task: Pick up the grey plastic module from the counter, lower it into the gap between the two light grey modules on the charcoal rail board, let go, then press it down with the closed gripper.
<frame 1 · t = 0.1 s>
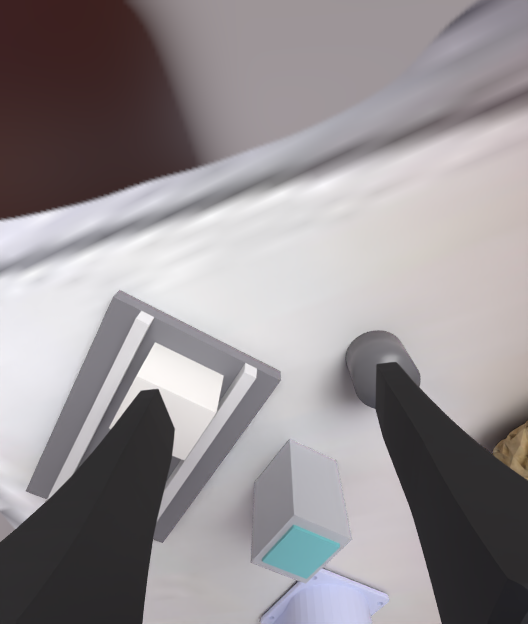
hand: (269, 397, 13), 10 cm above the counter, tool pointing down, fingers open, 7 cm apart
module: (294, 471, 29), on the counter
rail board: (146, 430, 27), on the counter
knob: (374, 355, 24), on the counter
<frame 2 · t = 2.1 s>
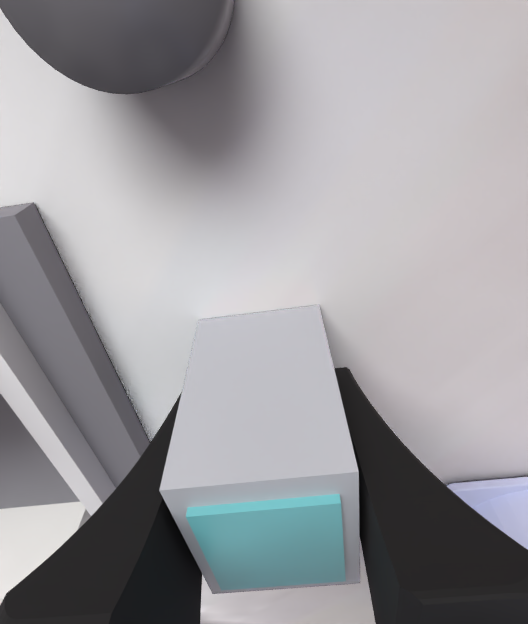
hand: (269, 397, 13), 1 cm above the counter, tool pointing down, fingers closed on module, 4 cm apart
module: (268, 368, 14), on the counter, touching gripper
rail board: (10, 435, 16), on the counter
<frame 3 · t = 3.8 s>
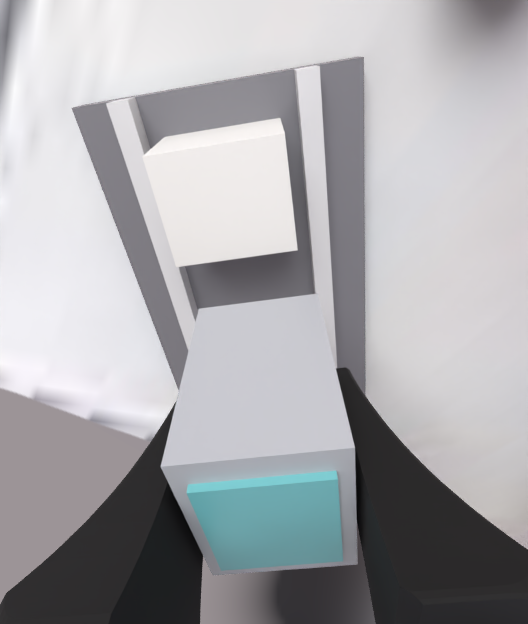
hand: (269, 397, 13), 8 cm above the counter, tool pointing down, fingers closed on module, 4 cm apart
module: (267, 358, 14), point 7 cm above the counter, touching gripper
rail board: (253, 281, 20), on the counter
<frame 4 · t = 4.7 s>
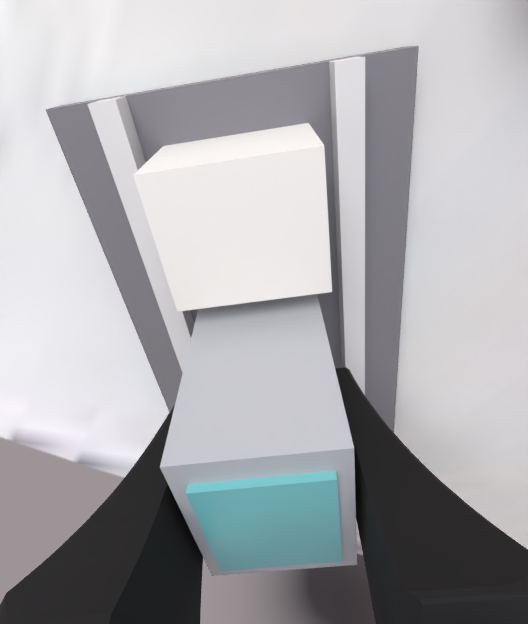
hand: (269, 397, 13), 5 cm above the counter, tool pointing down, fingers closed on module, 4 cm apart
module: (267, 358, 14), point 3 cm above the counter, touching gripper
rail board: (267, 313, 17), on the counter
when the fingers open (3 cm above the counter, at t = 5.5 s): module stays where it is, resting on rail board.
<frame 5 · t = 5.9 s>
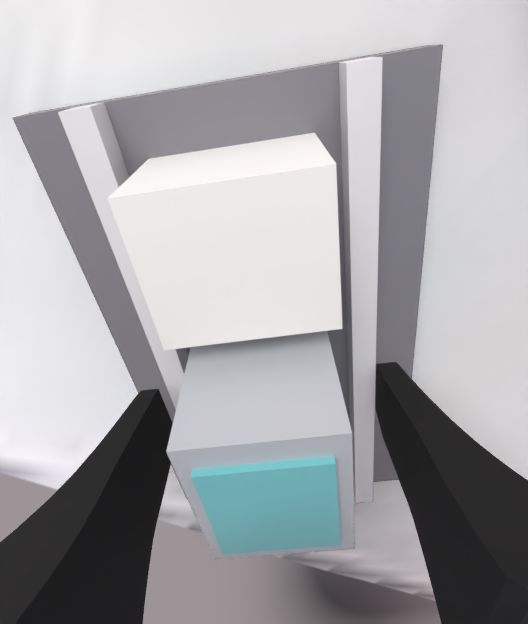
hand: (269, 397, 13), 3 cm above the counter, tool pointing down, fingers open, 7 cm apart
module: (268, 351, 15), point 1 cm above the counter, touching rail board
rail board: (267, 338, 16), on the counter
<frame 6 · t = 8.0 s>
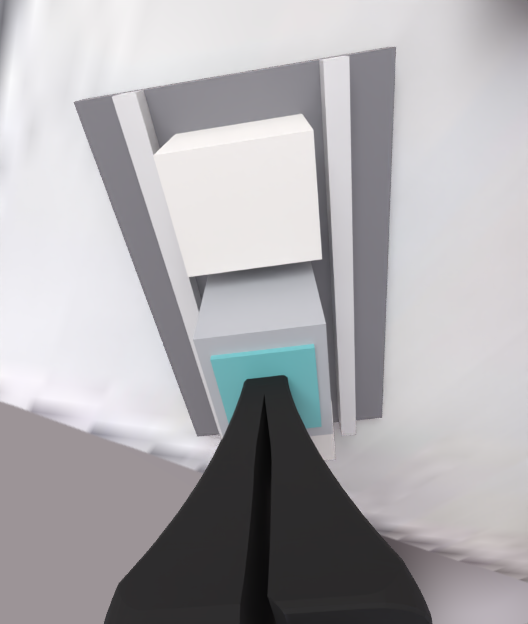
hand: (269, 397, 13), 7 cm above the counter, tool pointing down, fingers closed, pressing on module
module: (267, 296, 18), point 1 cm above the counter, touching gripper, rail board
rail board: (266, 289, 19), on the counter
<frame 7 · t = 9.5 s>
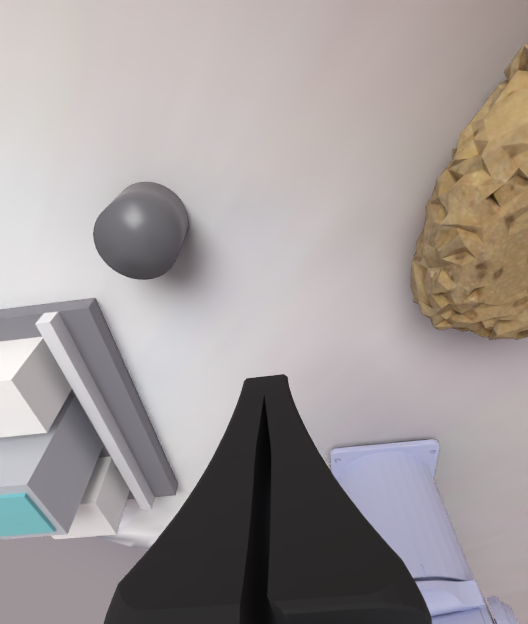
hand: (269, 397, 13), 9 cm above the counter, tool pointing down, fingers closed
module: (60, 425, 26), point 1 cm above the counter, touching rail board
rail board: (67, 415, 27), on the counter
knob: (152, 218, 19), on the counter
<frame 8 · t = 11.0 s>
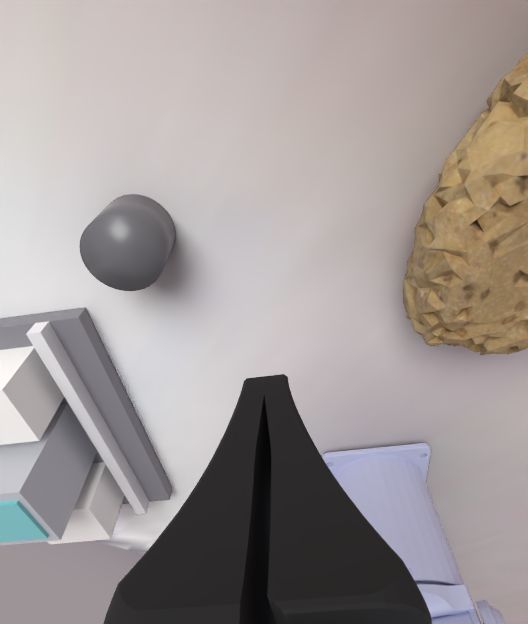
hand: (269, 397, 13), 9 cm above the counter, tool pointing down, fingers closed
module: (54, 432, 26), point 1 cm above the counter, touching rail board
rail board: (61, 422, 27), on the counter
knob: (139, 229, 19), on the counter
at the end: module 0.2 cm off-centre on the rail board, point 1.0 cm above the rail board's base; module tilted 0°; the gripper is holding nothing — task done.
